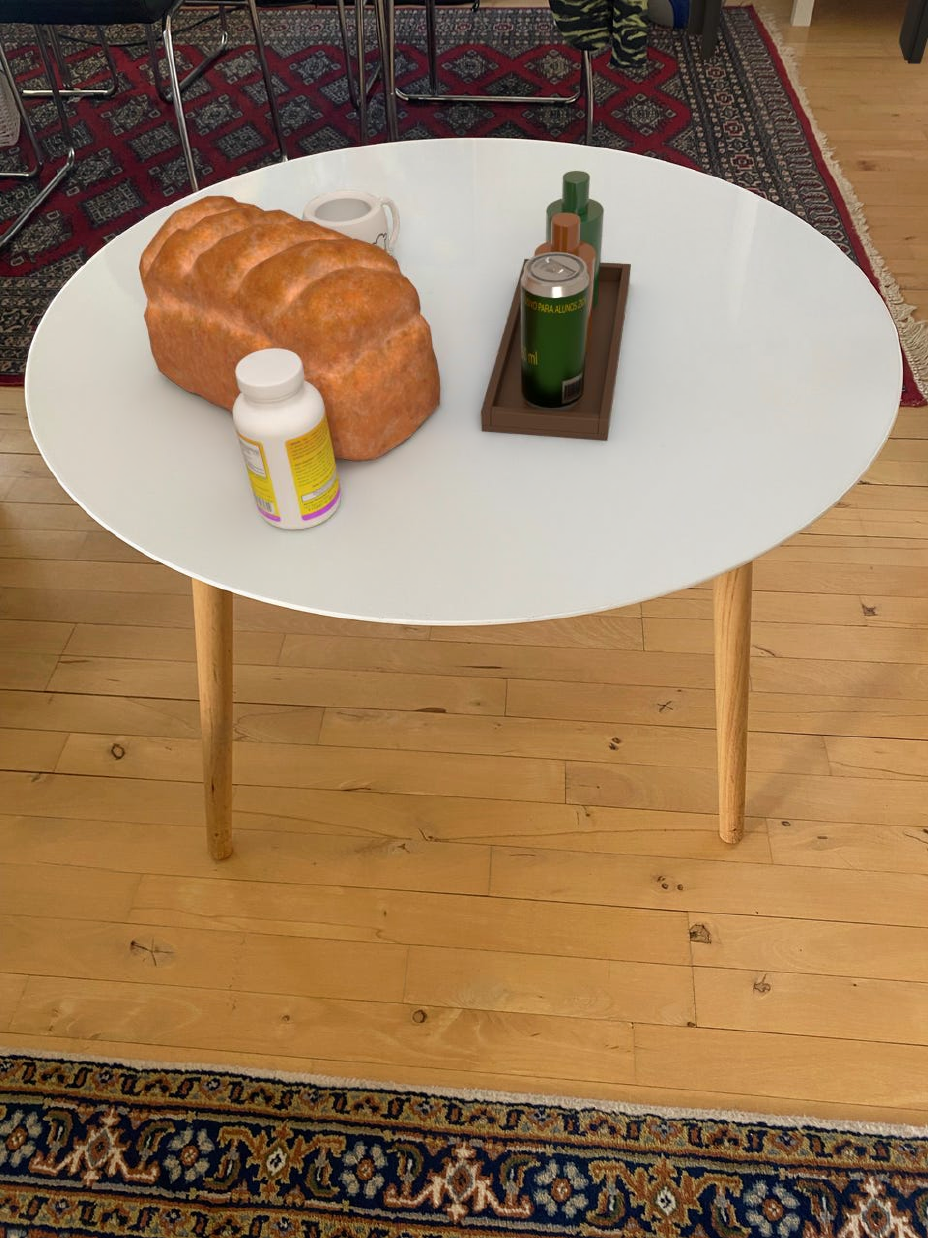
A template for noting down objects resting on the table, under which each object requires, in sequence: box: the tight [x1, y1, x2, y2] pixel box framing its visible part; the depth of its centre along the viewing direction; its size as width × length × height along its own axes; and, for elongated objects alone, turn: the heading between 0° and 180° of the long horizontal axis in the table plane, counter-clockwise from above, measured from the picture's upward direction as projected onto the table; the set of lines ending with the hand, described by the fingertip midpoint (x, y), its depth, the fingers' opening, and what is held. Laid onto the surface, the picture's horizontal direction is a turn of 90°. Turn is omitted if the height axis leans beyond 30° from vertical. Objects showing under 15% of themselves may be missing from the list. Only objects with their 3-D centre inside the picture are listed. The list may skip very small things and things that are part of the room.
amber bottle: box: [533, 213, 595, 353], centre depth 86 cm, size 5×5×12 cm
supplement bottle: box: [232, 348, 342, 531], centre depth 74 cm, size 7×7×13 cm
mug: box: [301, 189, 401, 254], centre depth 100 cm, size 12×8×8 cm
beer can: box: [521, 252, 590, 412], centre depth 81 cm, size 5×5×12 cm
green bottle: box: [545, 170, 605, 309], centre depth 92 cm, size 5×5×12 cm
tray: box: [480, 258, 632, 441], centre depth 90 cm, size 11×26×2 cm, turn 170°
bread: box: [138, 195, 441, 462], centre depth 83 cm, size 14×26×16 cm, turn 53°
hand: (806, 51), depth 49 cm, fingers open, 9 cm apart
